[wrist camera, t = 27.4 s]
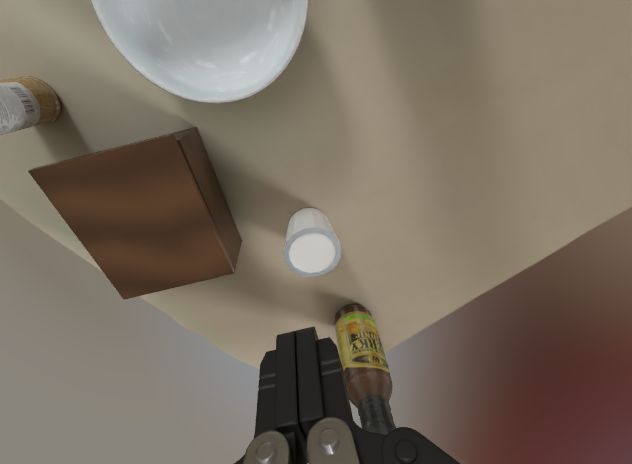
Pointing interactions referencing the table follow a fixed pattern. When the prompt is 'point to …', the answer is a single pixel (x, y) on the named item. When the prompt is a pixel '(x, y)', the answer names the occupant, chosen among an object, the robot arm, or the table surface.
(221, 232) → the chest
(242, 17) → the cereal bowl
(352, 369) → the sauce bottle
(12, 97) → the sprinkles bottle
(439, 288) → the table surface
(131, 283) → the chest lid
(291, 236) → the shot glass
